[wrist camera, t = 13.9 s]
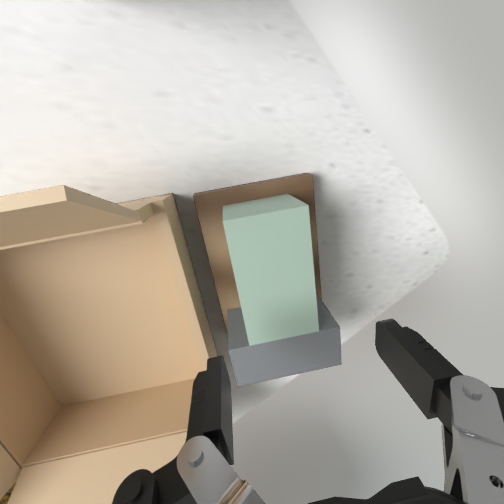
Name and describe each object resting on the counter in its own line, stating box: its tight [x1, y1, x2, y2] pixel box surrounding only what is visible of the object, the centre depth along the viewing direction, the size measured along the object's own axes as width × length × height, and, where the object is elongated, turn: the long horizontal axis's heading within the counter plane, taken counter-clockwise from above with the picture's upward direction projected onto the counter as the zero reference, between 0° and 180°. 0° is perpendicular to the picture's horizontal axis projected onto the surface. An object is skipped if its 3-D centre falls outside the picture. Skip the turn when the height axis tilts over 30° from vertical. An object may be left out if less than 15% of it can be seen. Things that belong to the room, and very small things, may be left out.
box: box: [223, 194, 342, 387], centre depth 19 cm, size 12×8×5 cm, turn 9°
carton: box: [0, 185, 218, 504], centre depth 17 cm, size 22×18×12 cm
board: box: [193, 173, 322, 335], centre depth 22 cm, size 14×9×2 cm, turn 9°
